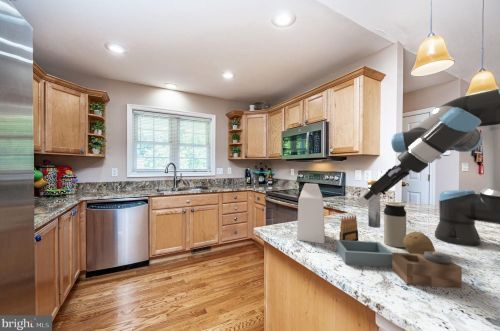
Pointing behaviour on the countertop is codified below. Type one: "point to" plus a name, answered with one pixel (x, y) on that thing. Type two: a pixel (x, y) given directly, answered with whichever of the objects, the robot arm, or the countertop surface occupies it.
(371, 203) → the pin
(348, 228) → the ammunition clip
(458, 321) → the countertop surface
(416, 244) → the natural sponge
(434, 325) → the countertop surface
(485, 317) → the countertop surface
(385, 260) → the tray
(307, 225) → the milk
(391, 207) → the travel mug
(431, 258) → the block
